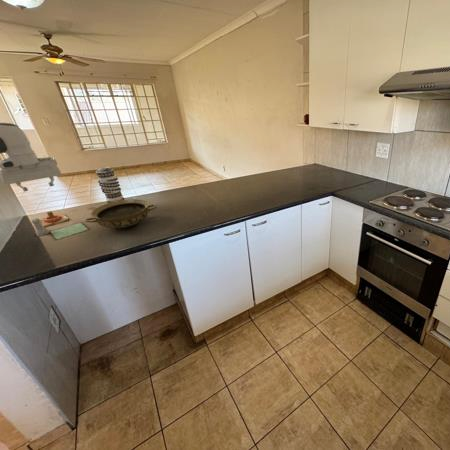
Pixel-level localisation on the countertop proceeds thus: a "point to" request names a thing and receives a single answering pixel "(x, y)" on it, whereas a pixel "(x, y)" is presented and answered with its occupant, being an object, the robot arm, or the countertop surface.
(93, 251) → the countertop surface
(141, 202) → the ceramic bowl
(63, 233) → the mat
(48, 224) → the holder
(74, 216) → the countertop surface
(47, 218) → the ring
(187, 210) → the countertop surface
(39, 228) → the rook chess piece
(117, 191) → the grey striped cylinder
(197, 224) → the countertop surface
